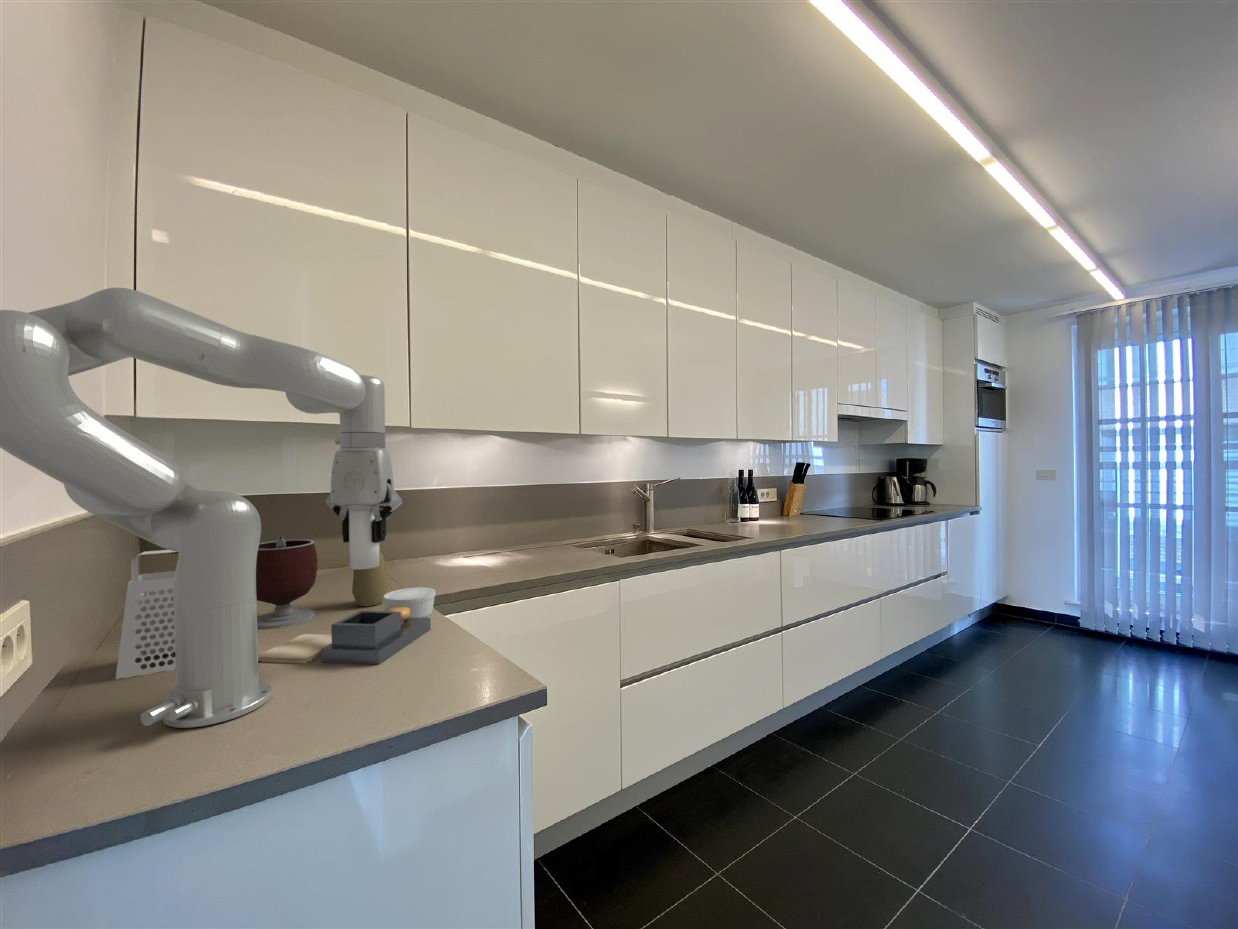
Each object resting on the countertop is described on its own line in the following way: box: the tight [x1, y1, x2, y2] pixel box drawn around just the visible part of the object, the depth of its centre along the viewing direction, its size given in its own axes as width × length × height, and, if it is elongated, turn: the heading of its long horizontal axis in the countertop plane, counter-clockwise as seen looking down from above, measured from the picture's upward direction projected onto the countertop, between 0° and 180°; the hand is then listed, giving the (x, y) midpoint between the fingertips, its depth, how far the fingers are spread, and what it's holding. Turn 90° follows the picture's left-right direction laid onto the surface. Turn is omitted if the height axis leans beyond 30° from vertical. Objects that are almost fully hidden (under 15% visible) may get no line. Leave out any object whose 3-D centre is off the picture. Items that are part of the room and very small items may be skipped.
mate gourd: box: [256, 535, 318, 630], centre depth 116 cm, size 16×14×20 cm
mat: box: [258, 633, 332, 664], centre depth 98 cm, size 12×10×1 cm
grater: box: [115, 549, 176, 678], centre depth 93 cm, size 10×10×20 cm
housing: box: [320, 610, 431, 665], centre depth 100 cm, size 18×11×6 cm, turn 173°
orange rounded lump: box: [385, 607, 410, 625], centre depth 106 cm, size 5×5×4 cm
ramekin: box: [383, 586, 437, 618], centre depth 119 cm, size 11×11×5 cm
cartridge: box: [347, 504, 380, 570], centre depth 96 cm, size 5×5×12 cm
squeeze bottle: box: [351, 552, 388, 607], centre depth 129 cm, size 8×8×18 cm
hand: (364, 540), depth 96 cm, fingers closed on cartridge, 5 cm apart
